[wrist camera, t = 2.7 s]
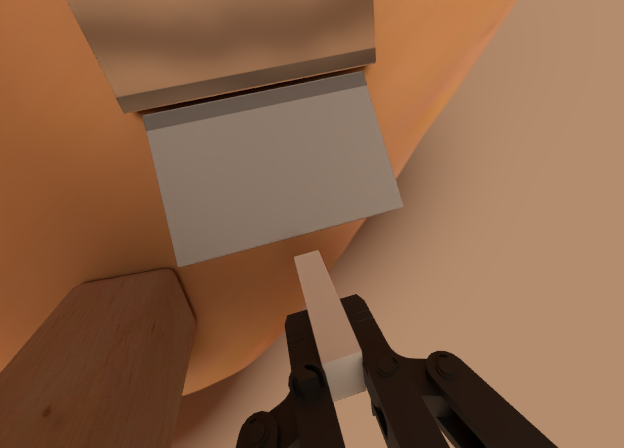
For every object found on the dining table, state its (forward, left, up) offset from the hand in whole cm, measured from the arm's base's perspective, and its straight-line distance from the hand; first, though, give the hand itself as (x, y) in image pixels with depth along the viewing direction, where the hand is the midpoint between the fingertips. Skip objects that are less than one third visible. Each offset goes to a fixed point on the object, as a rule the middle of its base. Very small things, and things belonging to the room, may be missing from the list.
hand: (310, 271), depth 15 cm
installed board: (-14, 0, -14) cm, 19 cm away
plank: (-3, 0, -10) cm, 11 cm away
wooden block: (+10, -19, -14) cm, 25 cm away
